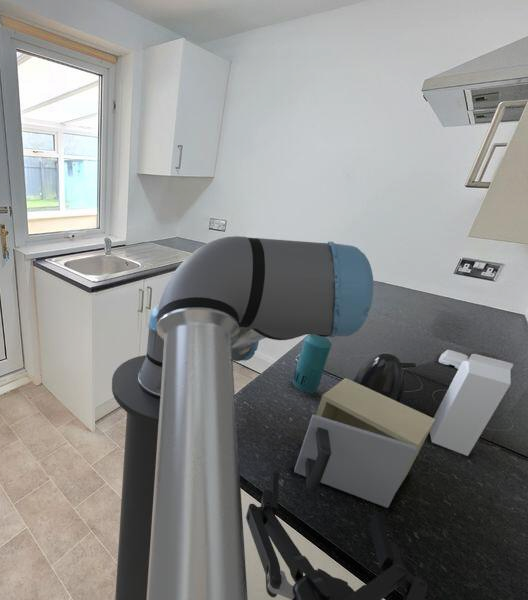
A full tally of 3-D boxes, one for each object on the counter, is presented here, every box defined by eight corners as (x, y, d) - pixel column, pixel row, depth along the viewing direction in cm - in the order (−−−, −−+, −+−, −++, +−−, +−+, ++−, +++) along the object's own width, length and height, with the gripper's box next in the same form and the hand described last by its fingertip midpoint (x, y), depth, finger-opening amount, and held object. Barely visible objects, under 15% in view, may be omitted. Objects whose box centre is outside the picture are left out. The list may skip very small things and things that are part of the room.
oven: (388, 504, 56) (418, 445, 51) (304, 447, 67) (322, 394, 62) (407, 474, 62) (435, 419, 57) (327, 427, 73) (345, 377, 68)
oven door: (398, 542, 50) (433, 481, 45) (294, 499, 56) (315, 441, 51) (386, 503, 56) (415, 445, 51) (294, 468, 62) (312, 413, 57)
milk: (467, 456, 67) (520, 370, 59) (430, 442, 71) (475, 359, 62) (462, 439, 72) (510, 358, 64) (427, 427, 75) (469, 347, 67)
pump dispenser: (399, 423, 76) (424, 370, 70) (349, 407, 80) (368, 356, 75) (391, 400, 84) (412, 351, 79) (346, 387, 89) (363, 340, 83)
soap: (441, 354, 110) (444, 346, 109) (468, 362, 105) (472, 355, 104) (437, 362, 105) (440, 354, 104) (465, 371, 100) (469, 363, 99)
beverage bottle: (319, 390, 87) (340, 326, 79) (312, 401, 82) (334, 334, 75) (294, 380, 91) (312, 317, 84) (286, 389, 86) (305, 324, 79)
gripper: (206, 623, 36) (234, 480, 54) (497, 805, 26) (414, 556, 44) (216, 585, 34) (242, 447, 52) (545, 771, 24) (436, 520, 42)
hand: (322, 497), depth 48 cm, fingers open, 13 cm apart
